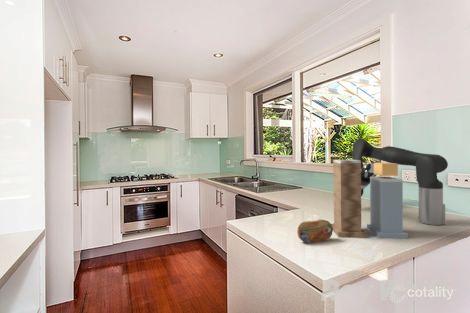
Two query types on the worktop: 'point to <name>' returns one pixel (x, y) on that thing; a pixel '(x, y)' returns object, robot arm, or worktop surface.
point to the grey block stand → (386, 208)
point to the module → (384, 169)
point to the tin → (314, 231)
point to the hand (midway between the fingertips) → (375, 165)
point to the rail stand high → (347, 199)
